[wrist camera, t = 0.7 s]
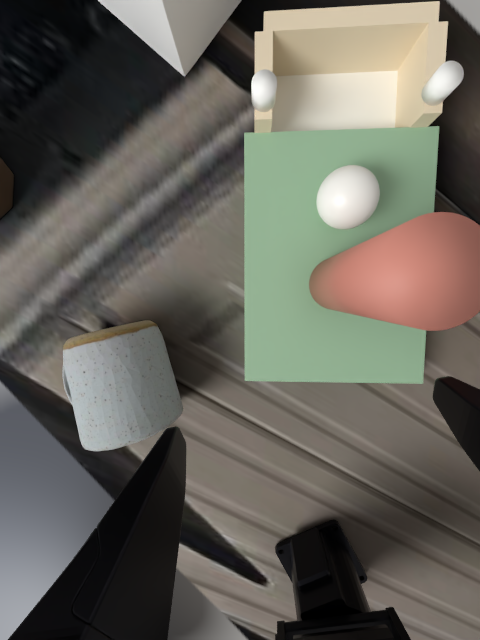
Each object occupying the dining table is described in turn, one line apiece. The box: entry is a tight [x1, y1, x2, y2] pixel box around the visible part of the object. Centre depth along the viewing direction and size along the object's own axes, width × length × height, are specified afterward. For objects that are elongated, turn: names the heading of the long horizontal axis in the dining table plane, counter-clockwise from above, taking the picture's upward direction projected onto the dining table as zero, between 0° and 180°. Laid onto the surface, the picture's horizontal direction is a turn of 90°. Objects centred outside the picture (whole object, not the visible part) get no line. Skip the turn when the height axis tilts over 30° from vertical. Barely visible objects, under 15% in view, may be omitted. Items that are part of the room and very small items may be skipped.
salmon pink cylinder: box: [309, 212, 480, 331], centre depth 15 cm, size 4×4×12 cm
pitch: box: [244, 126, 439, 384], centre depth 22 cm, size 19×14×2 cm
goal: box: [251, 1, 464, 133], centre depth 20 cm, size 7×13×6 cm, turn 90°
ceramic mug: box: [63, 320, 183, 451], centre depth 22 cm, size 11×8×8 cm
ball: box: [316, 165, 380, 230], centre depth 19 cm, size 4×4×4 cm
